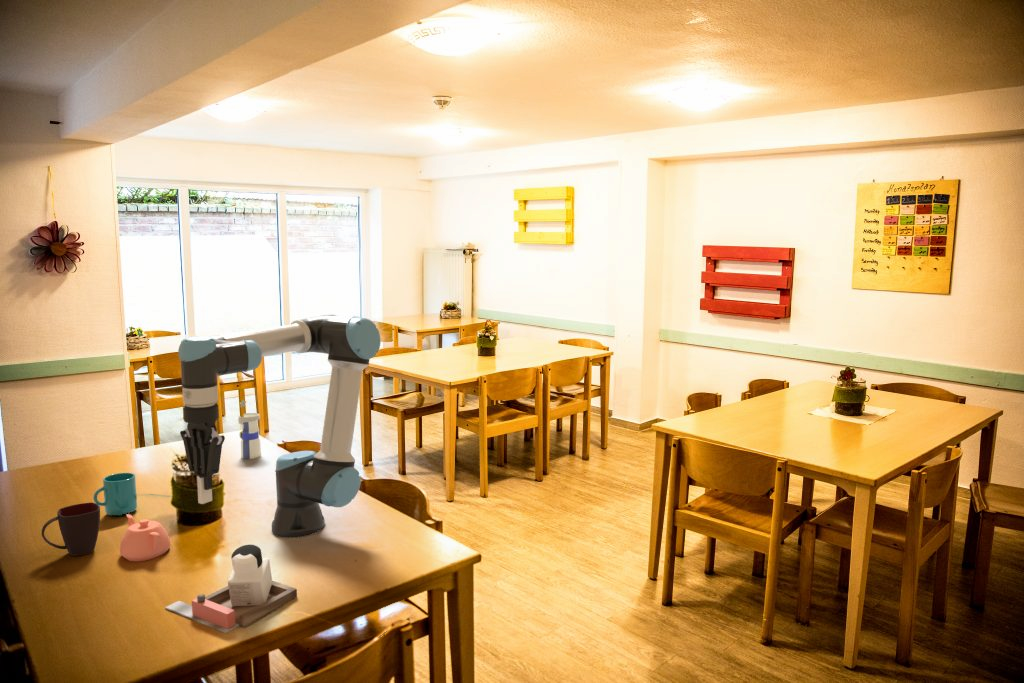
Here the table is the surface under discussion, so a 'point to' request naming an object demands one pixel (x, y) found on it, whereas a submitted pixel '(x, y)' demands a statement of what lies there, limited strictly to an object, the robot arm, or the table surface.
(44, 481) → the table surface
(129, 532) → the teapot
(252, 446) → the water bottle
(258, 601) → the container
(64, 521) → the mug
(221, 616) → the bar
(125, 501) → the cup
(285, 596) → the brown tray
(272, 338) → the robot arm
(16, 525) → the table surface
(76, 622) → the table surface
